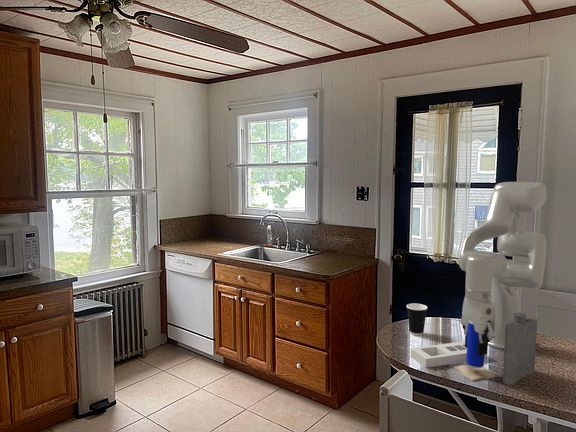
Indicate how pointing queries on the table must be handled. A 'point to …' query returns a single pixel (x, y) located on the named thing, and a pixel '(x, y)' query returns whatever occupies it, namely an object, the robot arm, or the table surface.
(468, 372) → the coaster pad
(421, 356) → the power strip
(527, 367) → the hip flask
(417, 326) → the dixie cup
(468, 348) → the beverage can
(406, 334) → the table surface
